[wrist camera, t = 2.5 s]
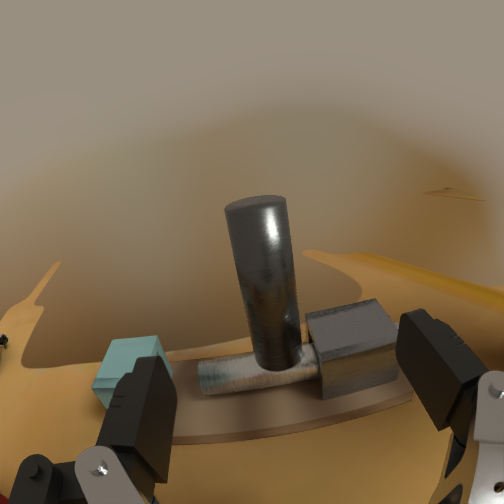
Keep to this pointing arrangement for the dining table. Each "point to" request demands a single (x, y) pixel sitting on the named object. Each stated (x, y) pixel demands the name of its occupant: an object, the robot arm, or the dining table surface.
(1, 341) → the mat
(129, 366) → the socket block
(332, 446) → the dining table surface
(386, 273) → the dining table surface
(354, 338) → the sleeve
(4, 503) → the canned food
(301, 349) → the slide bolt
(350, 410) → the board
